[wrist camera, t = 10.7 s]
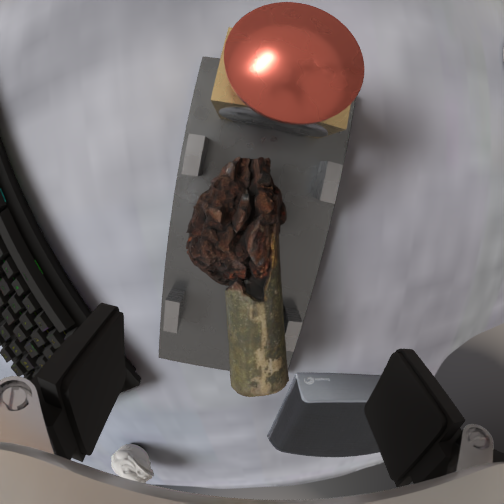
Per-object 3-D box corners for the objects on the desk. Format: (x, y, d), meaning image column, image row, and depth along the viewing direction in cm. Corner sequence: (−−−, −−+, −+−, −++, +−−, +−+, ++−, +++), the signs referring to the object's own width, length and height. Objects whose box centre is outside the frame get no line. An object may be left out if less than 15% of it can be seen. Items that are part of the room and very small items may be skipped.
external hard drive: (297, 364, 30) (304, 388, 26) (428, 375, 32) (442, 393, 28) (264, 436, 34) (266, 459, 30) (384, 438, 36) (392, 456, 32)
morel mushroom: (290, 369, 25) (284, 408, 19) (217, 365, 26) (196, 400, 21) (285, 160, 22) (277, 147, 17) (202, 167, 23) (171, 158, 18)
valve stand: (353, 85, 22) (416, 45, 11) (283, 370, 30) (298, 451, 19) (206, 53, 21) (184, -12, 10) (161, 350, 29) (132, 428, 18)
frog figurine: (168, 454, 34) (160, 491, 28) (135, 460, 35) (125, 493, 28) (141, 431, 33) (129, 469, 26) (108, 438, 34) (95, 472, 27)
